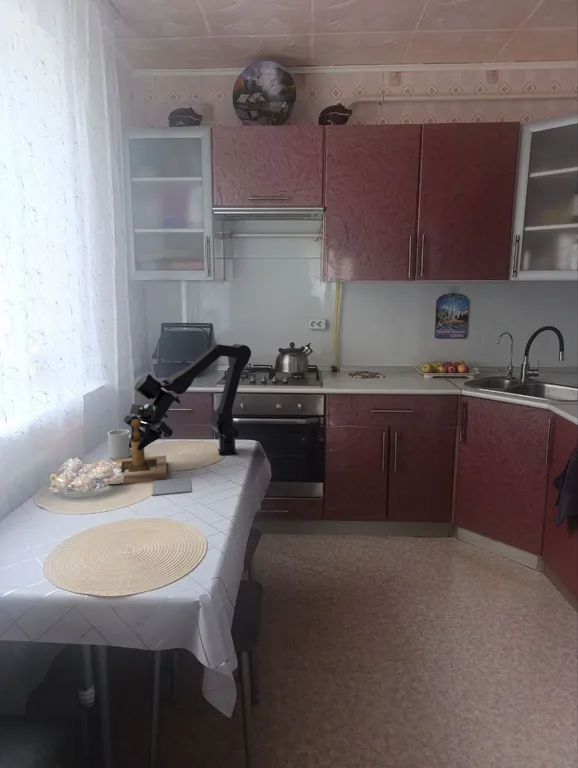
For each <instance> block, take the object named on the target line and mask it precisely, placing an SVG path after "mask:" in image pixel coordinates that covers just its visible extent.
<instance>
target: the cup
mask: <svg viewBox="0 0 578 768" xmlns="http://www.w3.org/2000/svg"><path fill="white" fill-rule="evenodd" d="M107 438H108V439H107V442H108V443H107V444H108V453H109V454H108V455H109V458H110V459H111V460H116V459H128V458H130V457H131V456H132V450H131V448H130V447H129V442H130V438H131V434H130V430H129V429H116V430H115V429H114V430H111V431H108V432H107Z"/></svg>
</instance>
